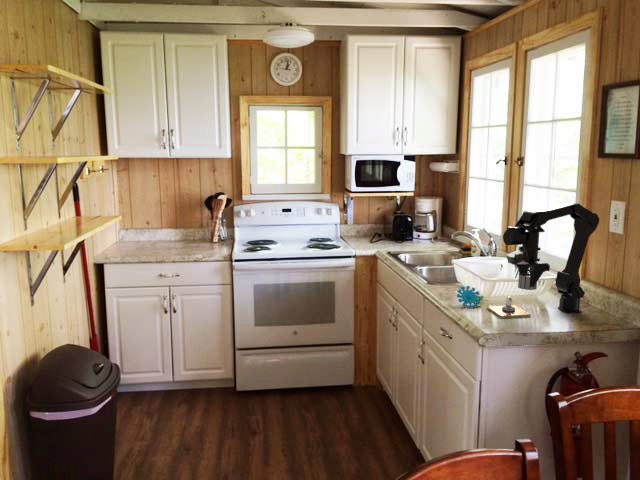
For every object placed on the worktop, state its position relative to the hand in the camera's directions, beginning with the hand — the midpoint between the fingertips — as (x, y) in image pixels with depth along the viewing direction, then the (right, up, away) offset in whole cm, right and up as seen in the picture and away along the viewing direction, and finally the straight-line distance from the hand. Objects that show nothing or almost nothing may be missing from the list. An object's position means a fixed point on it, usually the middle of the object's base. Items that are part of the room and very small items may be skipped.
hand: (527, 284), depth 209 cm
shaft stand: (-5, -11, +6) cm, 14 cm away
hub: (0, -1, 0) cm, 1 cm away
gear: (-18, -10, +16) cm, 26 cm away
